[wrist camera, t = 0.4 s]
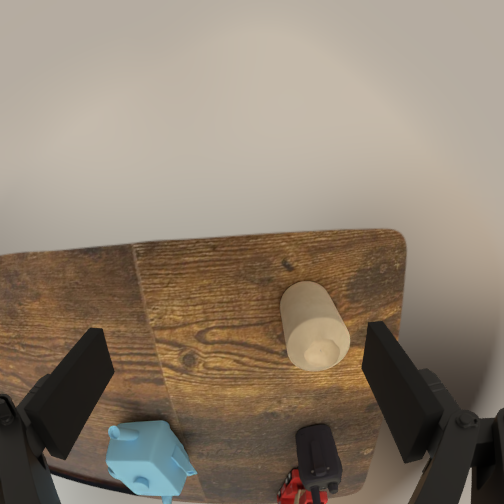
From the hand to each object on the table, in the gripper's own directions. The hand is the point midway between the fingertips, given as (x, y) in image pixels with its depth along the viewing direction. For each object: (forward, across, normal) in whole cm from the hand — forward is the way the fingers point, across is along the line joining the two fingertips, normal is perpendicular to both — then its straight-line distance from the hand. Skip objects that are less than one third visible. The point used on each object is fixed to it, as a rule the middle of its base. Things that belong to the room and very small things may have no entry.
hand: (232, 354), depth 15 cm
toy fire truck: (+19, +7, -39) cm, 44 cm away
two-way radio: (+19, +8, -26) cm, 34 cm away
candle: (+19, +6, -6) cm, 21 cm away
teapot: (+19, -14, -28) cm, 37 cm away
